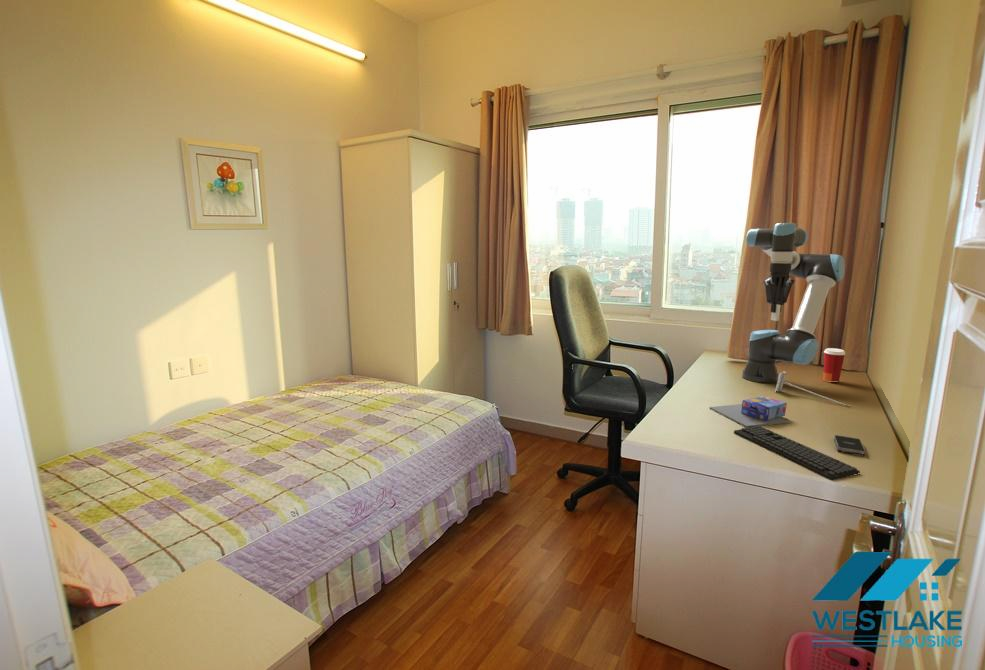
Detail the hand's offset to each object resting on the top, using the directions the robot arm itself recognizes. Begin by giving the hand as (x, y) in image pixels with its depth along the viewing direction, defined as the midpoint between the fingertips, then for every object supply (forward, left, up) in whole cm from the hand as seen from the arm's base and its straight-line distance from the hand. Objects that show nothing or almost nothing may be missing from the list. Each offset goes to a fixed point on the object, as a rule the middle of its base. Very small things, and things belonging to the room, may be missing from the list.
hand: (774, 320), depth 201 cm
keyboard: (+34, +48, -33) cm, 67 cm away
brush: (-14, +8, -33) cm, 37 cm away
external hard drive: (+14, +50, -33) cm, 62 cm away
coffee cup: (-44, -10, -33) cm, 56 cm away
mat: (+24, +18, -32) cm, 44 cm away
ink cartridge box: (+13, +19, -29) cm, 37 cm away
